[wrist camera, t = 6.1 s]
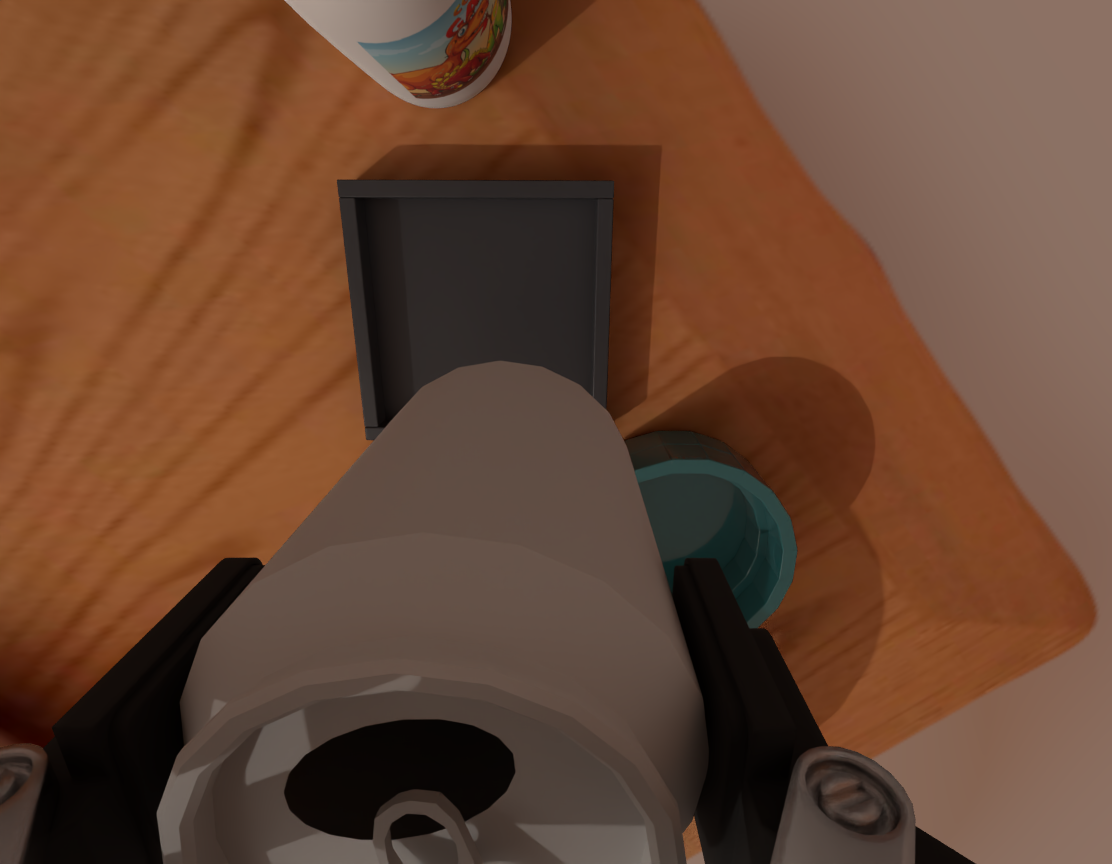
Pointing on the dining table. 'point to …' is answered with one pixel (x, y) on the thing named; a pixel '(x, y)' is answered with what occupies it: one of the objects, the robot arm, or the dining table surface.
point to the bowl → (716, 516)
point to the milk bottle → (418, 43)
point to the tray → (475, 281)
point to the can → (452, 657)
